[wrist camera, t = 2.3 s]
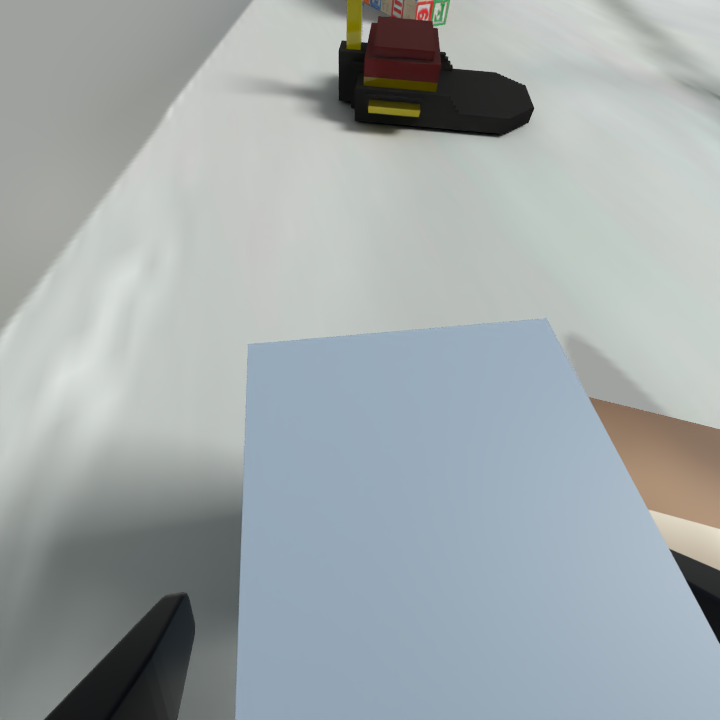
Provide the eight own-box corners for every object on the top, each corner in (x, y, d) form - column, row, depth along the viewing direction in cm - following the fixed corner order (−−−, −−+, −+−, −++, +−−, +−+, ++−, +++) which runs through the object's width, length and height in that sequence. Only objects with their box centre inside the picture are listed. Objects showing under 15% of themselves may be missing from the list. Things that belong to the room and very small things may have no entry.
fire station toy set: (347, 75, 43) (348, -67, 33) (511, 89, 42) (559, -49, 33) (332, 134, 35) (328, -29, 25) (532, 152, 35) (603, -5, 25)
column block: (437, 610, 14) (760, 718, 3) (319, 631, 14) (230, 847, 3) (411, 488, 17) (546, 318, 6) (311, 502, 16) (247, 343, 5)
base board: (1072, 1071, 9) (1304, 1228, 7) (480, 845, 11) (517, 914, 9) (819, 482, 18) (889, 468, 16) (503, 402, 19) (525, 379, 17)
